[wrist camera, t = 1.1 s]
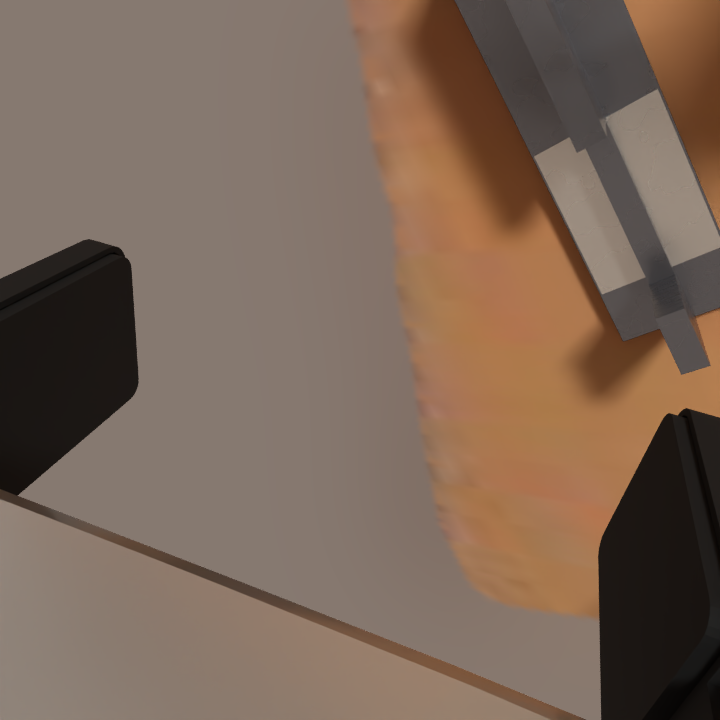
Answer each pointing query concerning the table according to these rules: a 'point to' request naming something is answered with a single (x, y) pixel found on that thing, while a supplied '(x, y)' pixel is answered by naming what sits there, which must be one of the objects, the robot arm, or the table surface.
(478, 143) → the table surface
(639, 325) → the rail
